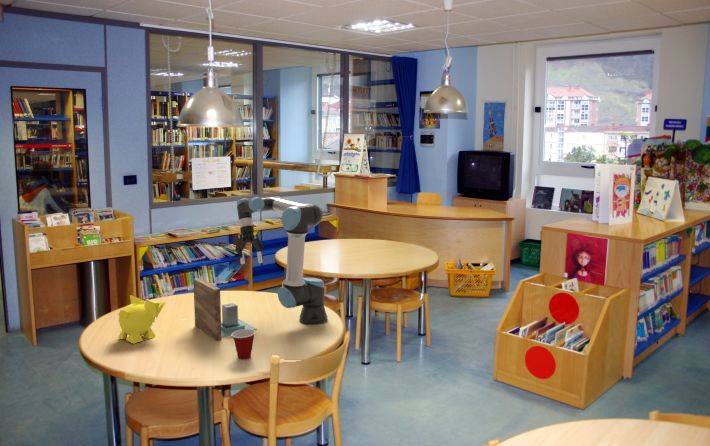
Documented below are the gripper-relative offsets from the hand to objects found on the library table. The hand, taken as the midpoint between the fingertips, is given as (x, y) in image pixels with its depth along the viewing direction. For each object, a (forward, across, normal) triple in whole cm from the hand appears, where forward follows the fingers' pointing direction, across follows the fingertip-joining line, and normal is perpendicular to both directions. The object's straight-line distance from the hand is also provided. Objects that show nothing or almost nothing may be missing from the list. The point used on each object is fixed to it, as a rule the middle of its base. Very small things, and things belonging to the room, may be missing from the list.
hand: (251, 263), depth 343 cm
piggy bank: (+30, +58, -27) cm, 71 cm away
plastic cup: (+48, +45, +32) cm, 73 cm away
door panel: (+34, +34, -4) cm, 48 cm away
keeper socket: (+34, +22, 0) cm, 40 cm away
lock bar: (+33, +22, 0) cm, 40 cm away
